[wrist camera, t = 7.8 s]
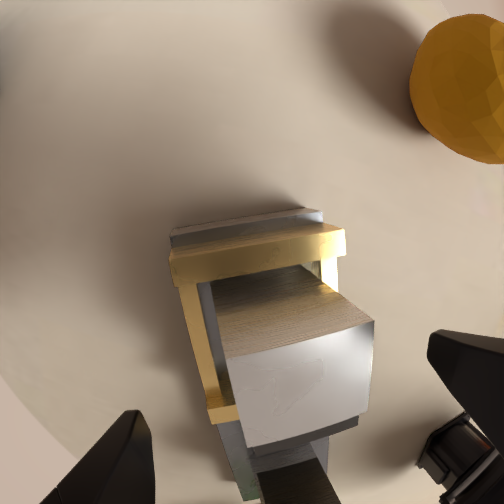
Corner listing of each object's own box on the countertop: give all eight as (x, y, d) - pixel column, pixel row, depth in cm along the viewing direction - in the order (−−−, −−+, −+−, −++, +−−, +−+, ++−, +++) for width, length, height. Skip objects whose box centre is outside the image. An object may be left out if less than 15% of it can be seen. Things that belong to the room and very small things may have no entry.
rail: (305, 207, 15) (411, 233, 7) (317, 462, 20) (355, 535, 12) (173, 229, 14) (149, 282, 6) (239, 482, 19) (259, 563, 11)
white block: (300, 264, 13) (374, 320, 8) (307, 347, 14) (365, 426, 9) (209, 282, 13) (225, 359, 7) (227, 365, 14) (251, 462, 8)
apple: (410, 21, 14) (502, -23, 5) (480, 111, 16) (572, 104, 7) (353, 89, 14) (475, 36, 6) (439, 191, 16) (556, 208, 8)
